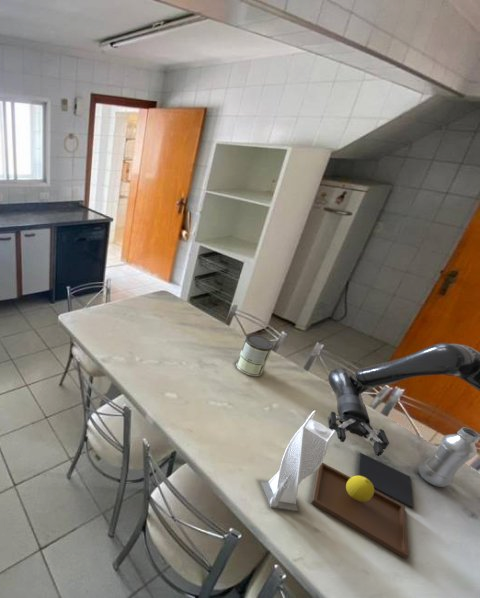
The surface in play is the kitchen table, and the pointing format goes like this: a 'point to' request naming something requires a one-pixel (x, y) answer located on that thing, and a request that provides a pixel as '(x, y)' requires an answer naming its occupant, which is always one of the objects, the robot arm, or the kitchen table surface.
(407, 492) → the plate
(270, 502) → the skyscraper
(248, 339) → the coffee can
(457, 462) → the silver metal flask
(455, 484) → the kitchen table surface
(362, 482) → the lemon
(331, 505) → the tray
